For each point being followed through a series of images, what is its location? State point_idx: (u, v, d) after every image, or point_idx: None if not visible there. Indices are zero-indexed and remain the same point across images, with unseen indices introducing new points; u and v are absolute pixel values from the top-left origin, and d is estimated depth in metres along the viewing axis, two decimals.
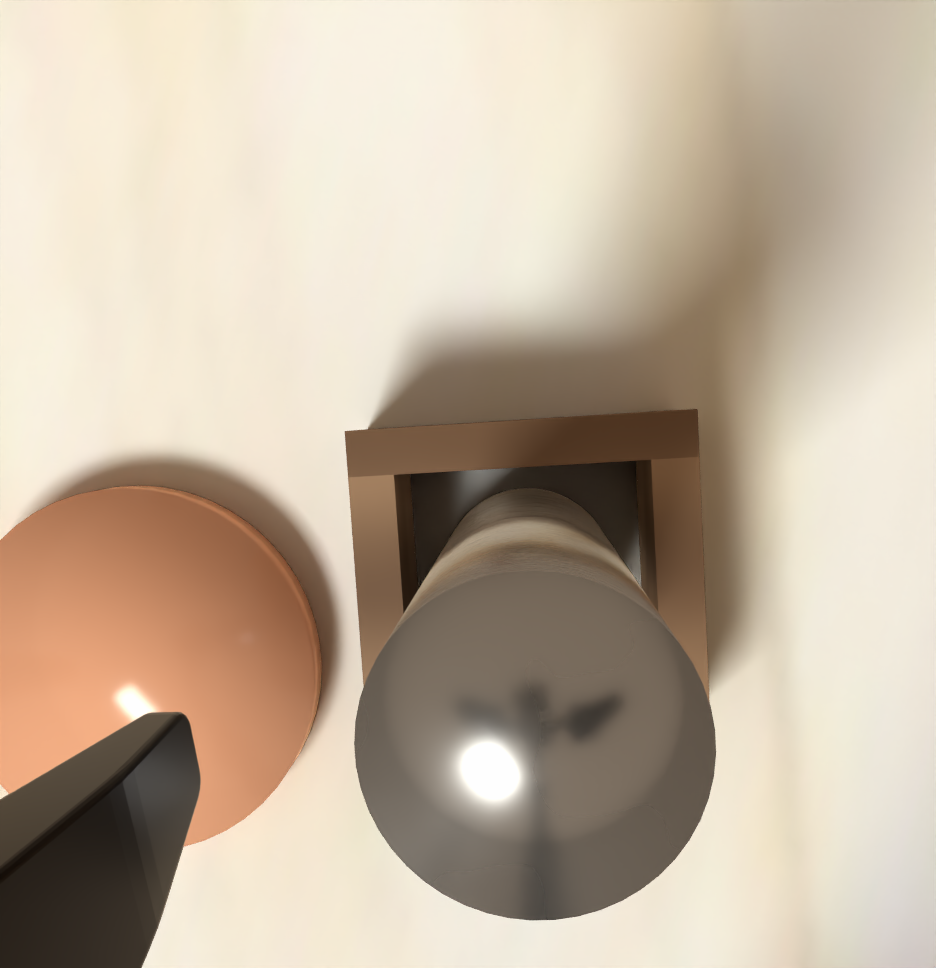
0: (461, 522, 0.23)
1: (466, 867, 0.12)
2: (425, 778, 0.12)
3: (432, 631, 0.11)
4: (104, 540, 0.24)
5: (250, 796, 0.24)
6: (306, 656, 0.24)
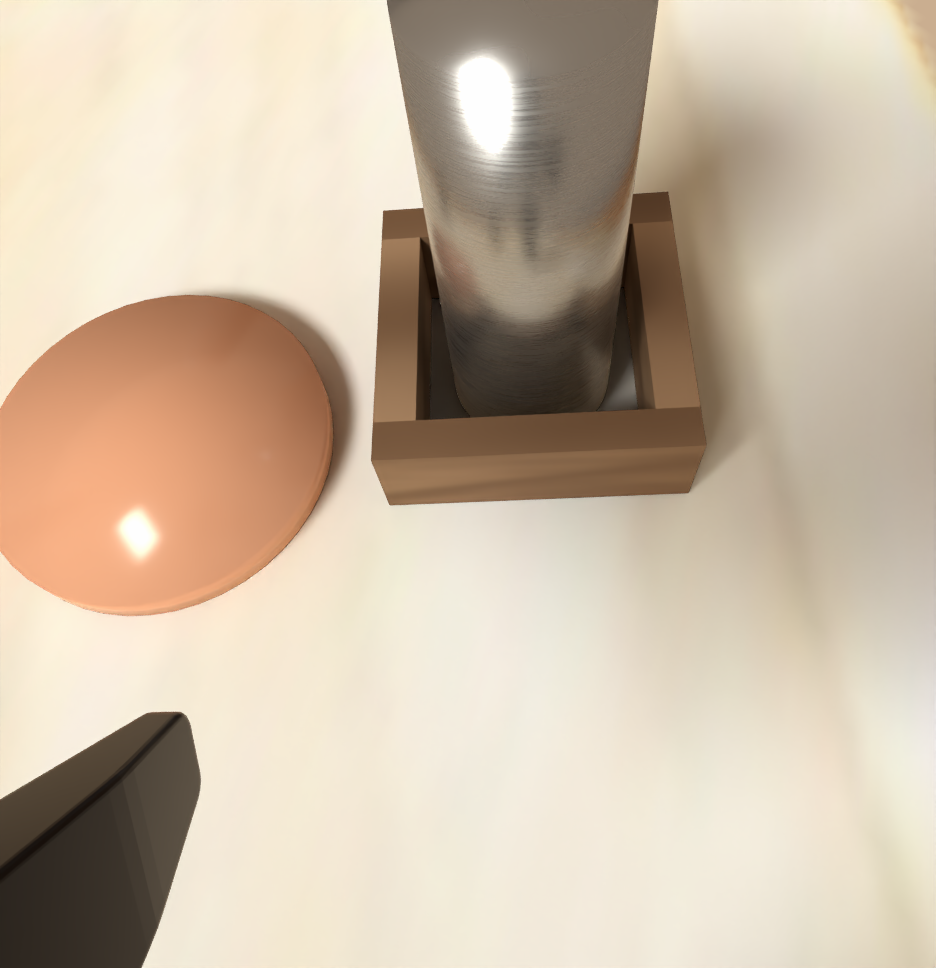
0: None
1: (466, 50, 0.14)
2: (439, 4, 0.15)
3: None
4: (159, 332, 0.27)
5: (242, 548, 0.24)
6: (321, 420, 0.25)
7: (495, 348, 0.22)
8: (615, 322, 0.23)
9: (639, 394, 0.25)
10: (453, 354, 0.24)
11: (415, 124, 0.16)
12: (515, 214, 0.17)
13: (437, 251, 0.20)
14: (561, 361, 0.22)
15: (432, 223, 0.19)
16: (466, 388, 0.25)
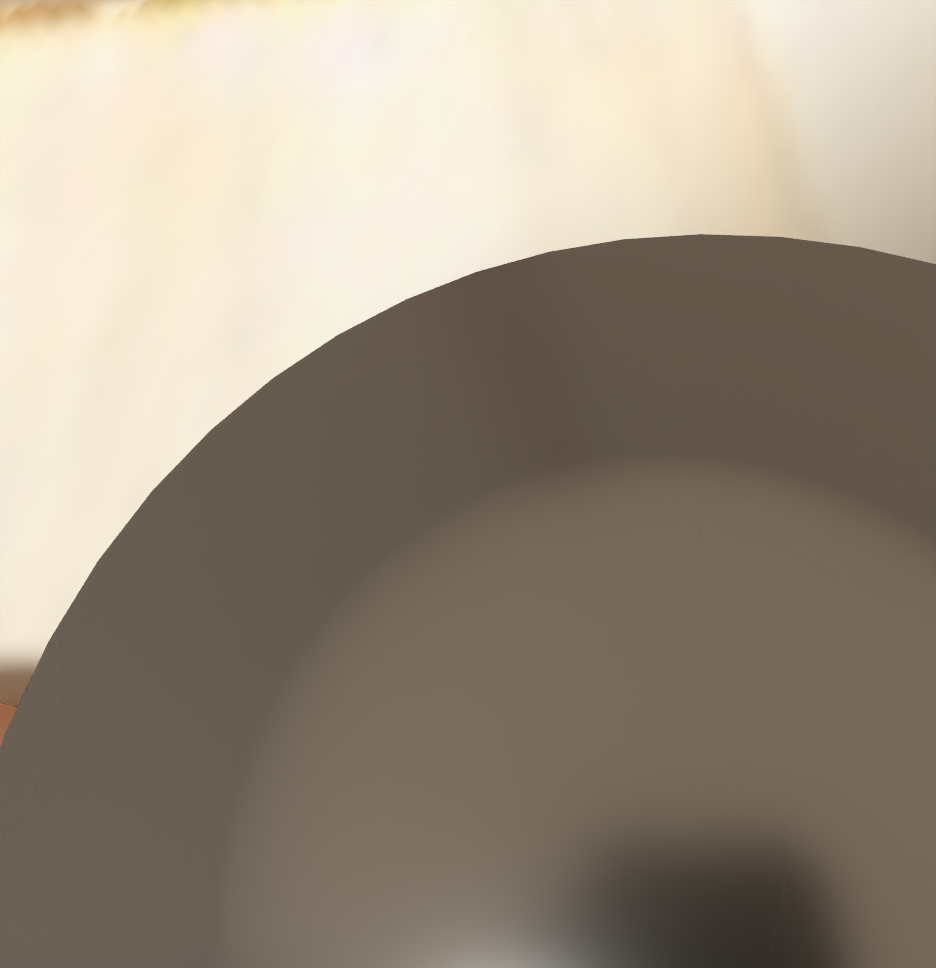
0: None
1: None
2: None
3: (360, 410, 0.03)
4: None
5: None
6: None
7: None
8: None
9: None
10: None
11: None
12: None
13: None
14: None
15: None
16: None
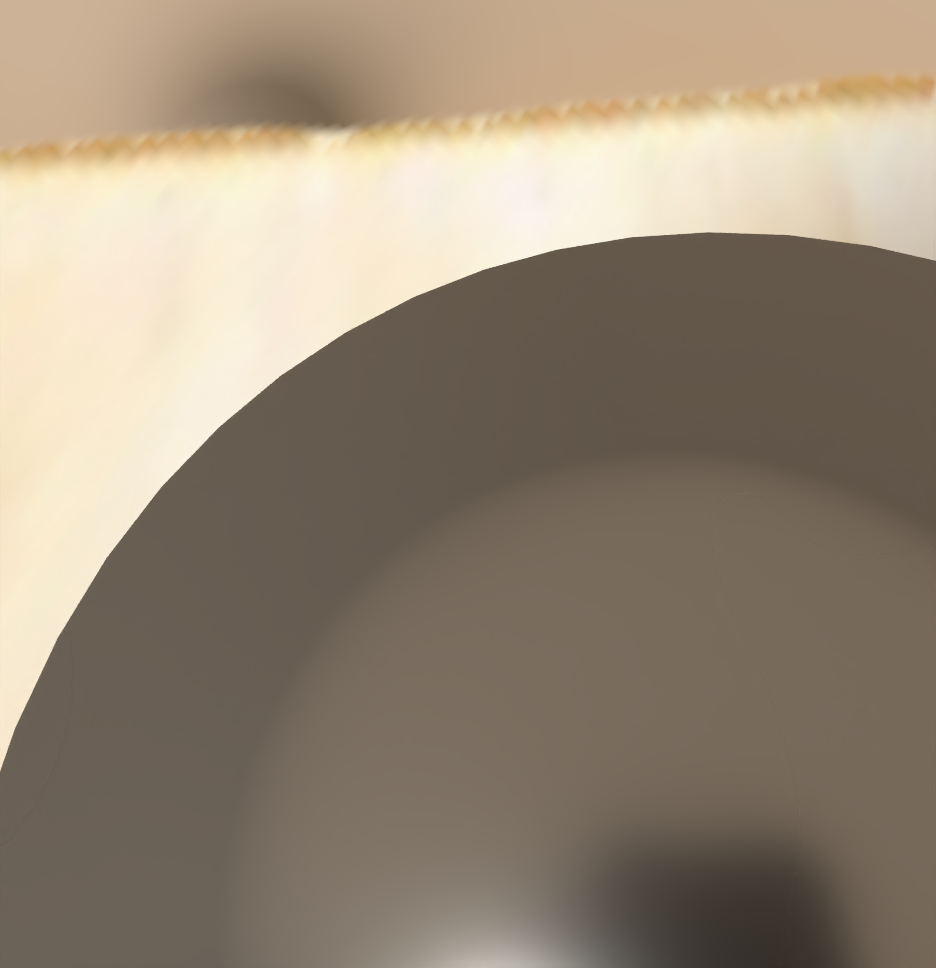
0: None
1: None
2: None
3: (368, 408, 0.03)
4: None
5: None
6: None
7: None
8: None
9: None
10: None
11: None
12: None
13: None
14: None
15: None
16: None
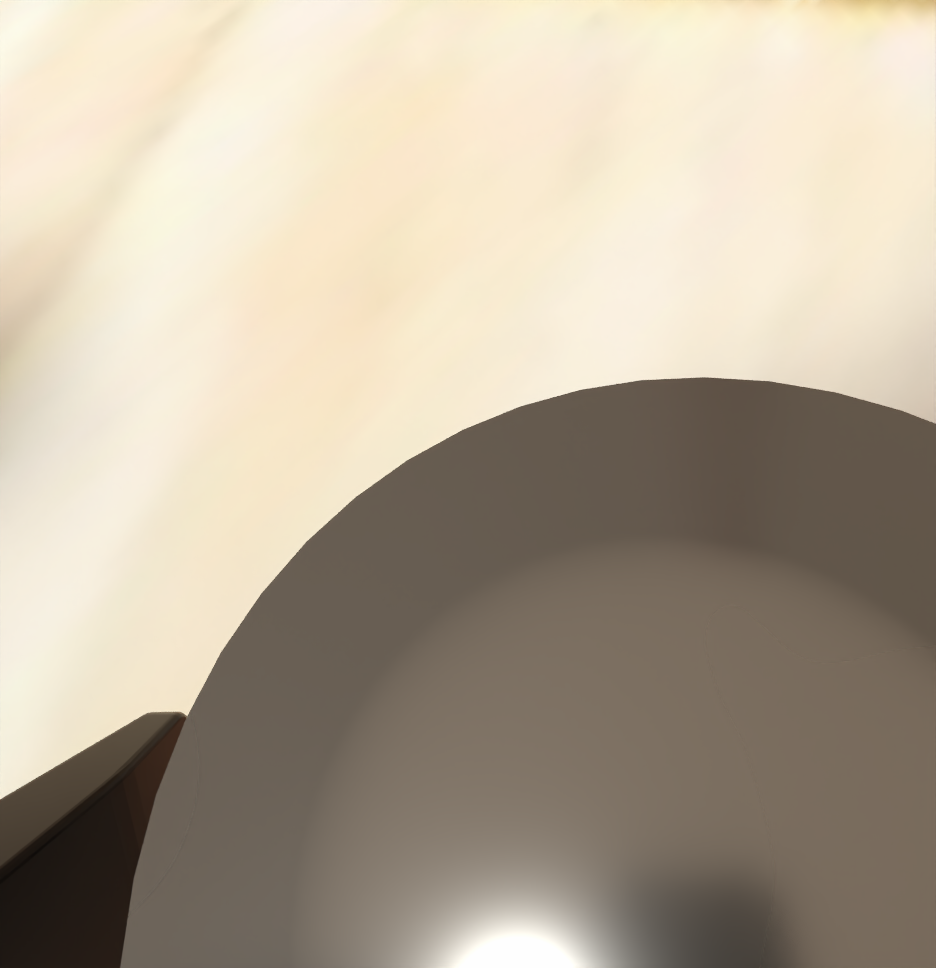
0: None
1: None
2: None
3: (428, 527, 0.04)
4: None
5: None
6: None
7: None
8: None
9: None
10: None
11: None
12: None
13: None
14: None
15: None
16: None
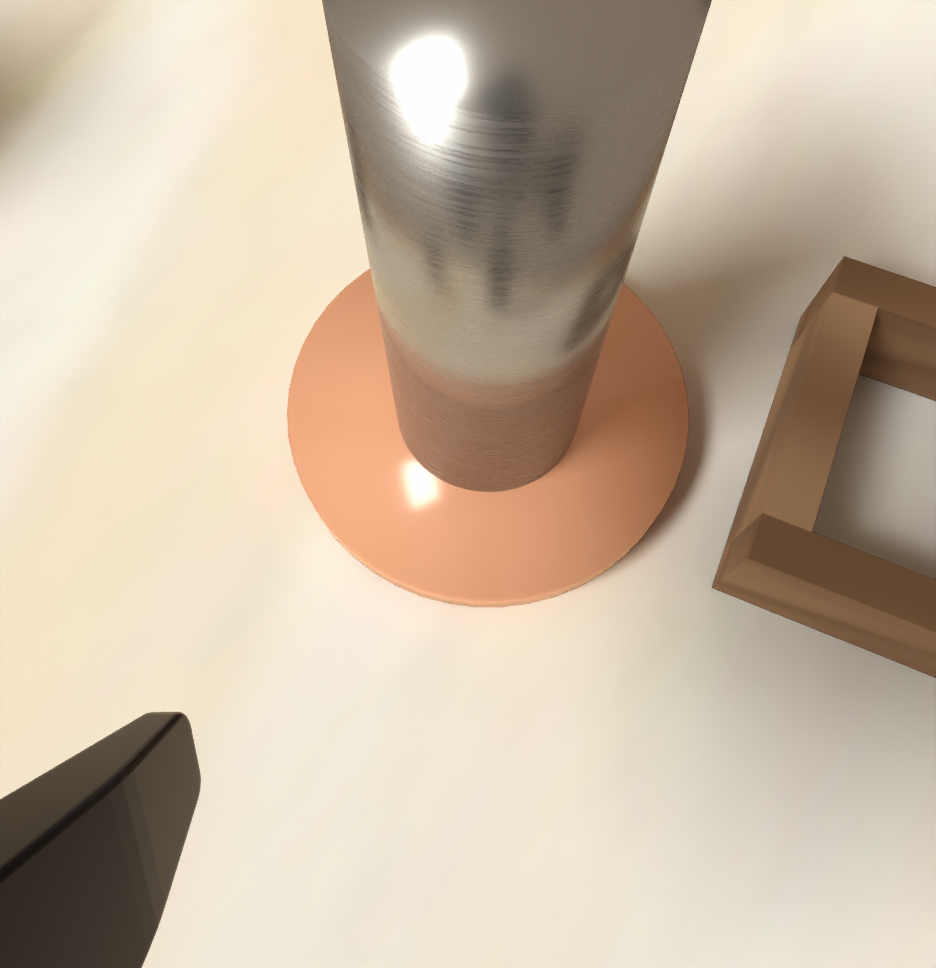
0: None
1: (427, 53, 0.10)
2: None
3: None
4: None
5: (549, 574, 0.21)
6: (676, 463, 0.22)
7: (444, 403, 0.17)
8: None
9: None
10: (394, 390, 0.19)
11: (352, 135, 0.12)
12: (481, 271, 0.12)
13: (378, 285, 0.15)
14: (525, 422, 0.18)
15: (372, 254, 0.14)
16: (408, 428, 0.20)
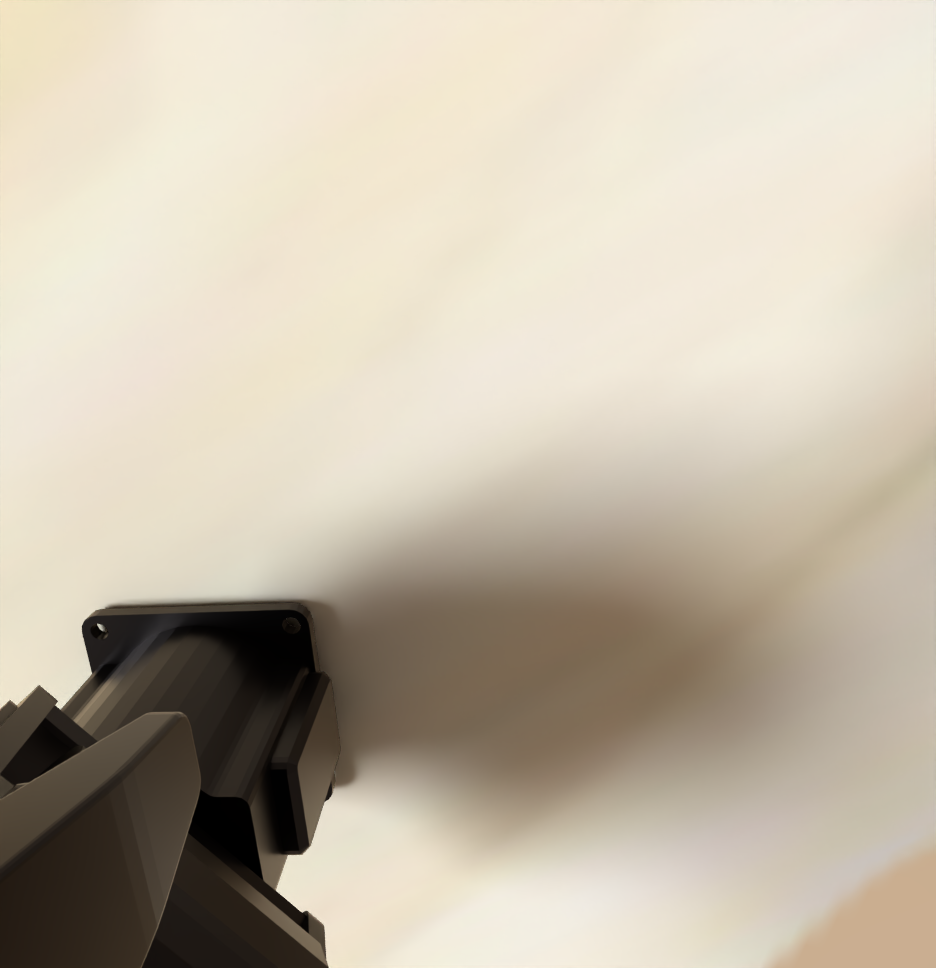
0: None
1: None
2: None
3: None
4: None
5: None
6: None
7: None
8: None
9: None
10: None
11: None
12: None
13: None
14: None
15: None
16: None
